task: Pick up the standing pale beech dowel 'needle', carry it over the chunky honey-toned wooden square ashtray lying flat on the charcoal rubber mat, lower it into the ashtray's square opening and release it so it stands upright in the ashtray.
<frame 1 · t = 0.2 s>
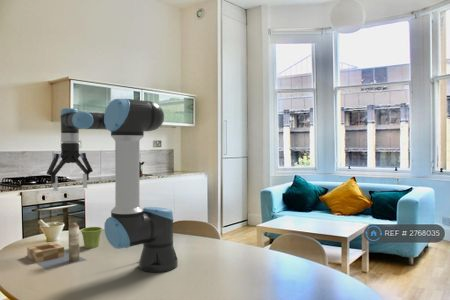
hand: (70, 189, 175), 28 cm above the table, fingers open, 13 cm apart
plant pot: (91, 248, 178), on the table
mat: (55, 259, 160), on the table
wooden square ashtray: (45, 256, 162), resting on mat
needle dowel: (74, 260, 157), point 1 cm above the table, touching mat
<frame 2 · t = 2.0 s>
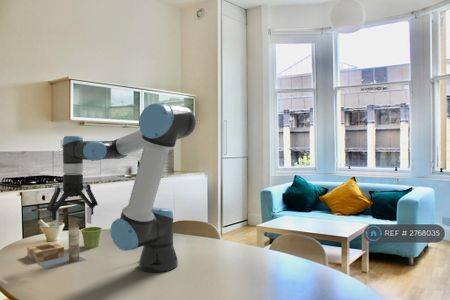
hand: (73, 225, 157), 15 cm above the table, fingers open, 13 cm apart
nothing on the table moved.
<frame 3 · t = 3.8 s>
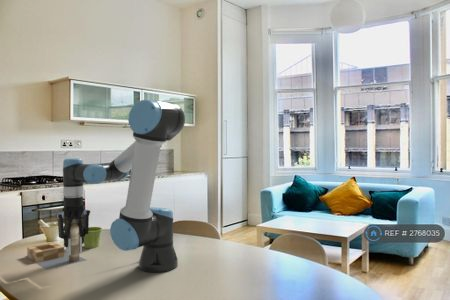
hand: (74, 253, 157), 4 cm above the table, fingers closed on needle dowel, 4 cm apart
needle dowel: (74, 260, 157), point 1 cm above the table, touching gripper, mat
everything else where it was.
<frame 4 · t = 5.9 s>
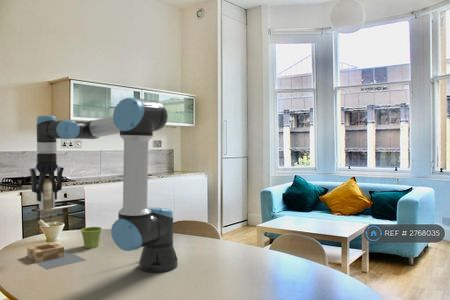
hand: (47, 208, 162), 21 cm above the table, fingers closed on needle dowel, 4 cm apart
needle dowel: (47, 215, 162), point 18 cm above the table, touching gripper
everything else where it was.
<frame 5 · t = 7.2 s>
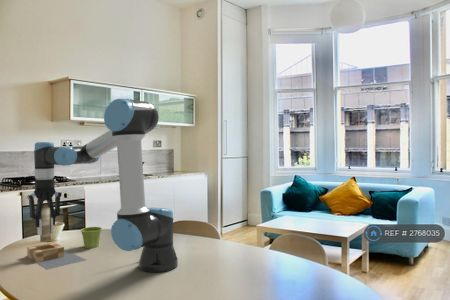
hand: (45, 233, 162), 10 cm above the table, fingers closed on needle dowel, 4 cm apart
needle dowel: (45, 240, 162), point 7 cm above the table, touching gripper
everything else where it was.
when the fingers open (6 cm above the table, at t = 8.3 s): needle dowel drops 1 cm, resting on mat.
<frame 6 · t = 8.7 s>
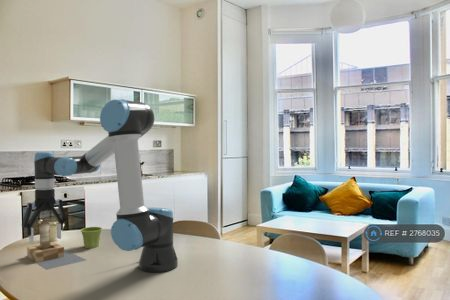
hand: (45, 240, 162), 7 cm above the table, fingers open, 10 cm apart
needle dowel: (45, 256, 162), point 1 cm above the table, touching mat
everything else where it was.
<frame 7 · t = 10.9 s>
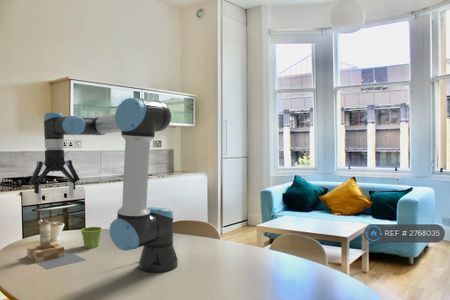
hand: (55, 199, 163), 25 cm above the table, fingers open, 13 cm apart
nothing on the table moved.
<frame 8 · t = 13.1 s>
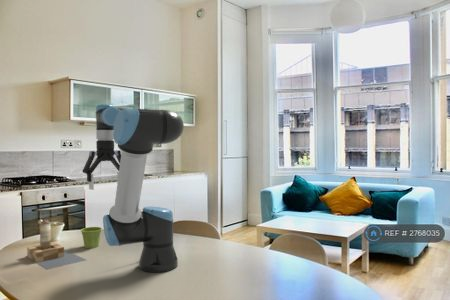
hand: (105, 188, 170), 29 cm above the table, fingers open, 13 cm apart
nothing on the table moved.
at the end: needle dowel 0.1 cm off-centre on the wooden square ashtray, point 0.0 cm above the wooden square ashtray's base; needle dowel tilted 0°; the gripper is holding nothing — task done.
